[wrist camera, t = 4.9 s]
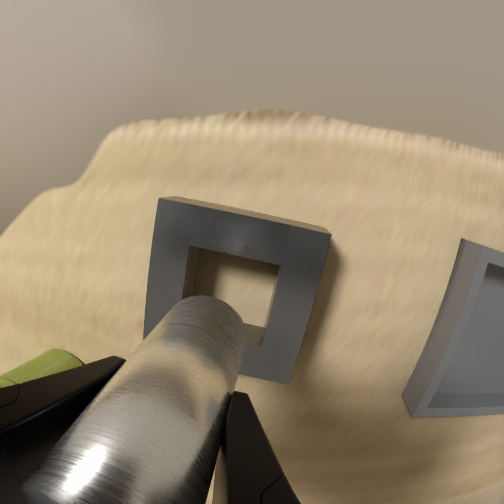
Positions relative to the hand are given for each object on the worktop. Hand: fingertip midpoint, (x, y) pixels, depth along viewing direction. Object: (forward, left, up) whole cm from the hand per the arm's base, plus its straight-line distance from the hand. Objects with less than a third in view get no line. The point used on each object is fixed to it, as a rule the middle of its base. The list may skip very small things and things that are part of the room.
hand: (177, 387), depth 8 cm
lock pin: (0, 0, -4) cm, 4 cm away
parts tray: (-19, 0, -10) cm, 22 cm away
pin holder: (0, 0, -10) cm, 10 cm away
